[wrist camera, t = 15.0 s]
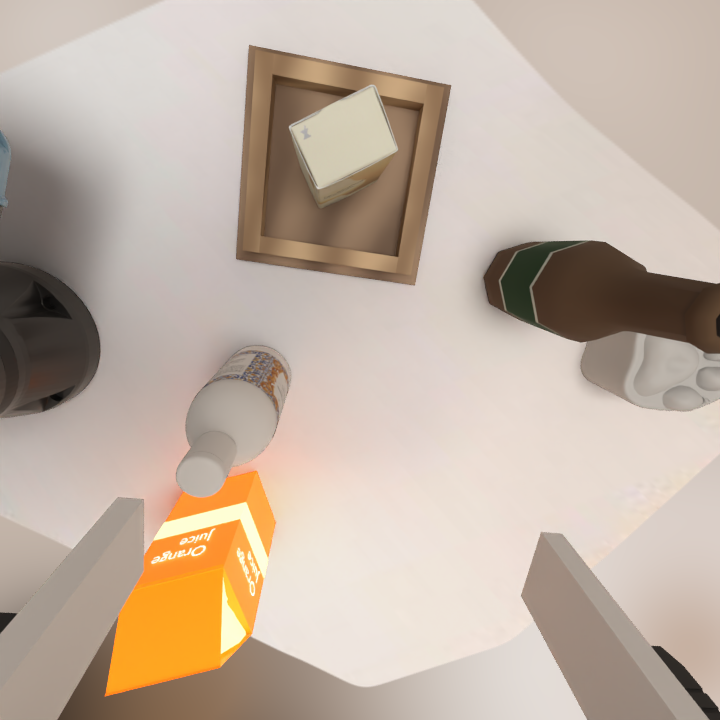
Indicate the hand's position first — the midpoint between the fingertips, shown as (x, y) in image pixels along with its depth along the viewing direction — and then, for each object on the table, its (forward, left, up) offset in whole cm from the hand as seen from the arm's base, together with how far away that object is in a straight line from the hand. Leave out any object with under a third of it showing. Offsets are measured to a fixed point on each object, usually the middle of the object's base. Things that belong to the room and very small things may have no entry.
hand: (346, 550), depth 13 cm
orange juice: (-10, -22, -31) cm, 39 cm away
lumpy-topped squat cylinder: (+34, +4, -31) cm, 46 cm away
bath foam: (-8, -5, -31) cm, 32 cm away
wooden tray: (-2, +16, -31) cm, 35 cm away
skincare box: (-2, +16, -30) cm, 34 cm away
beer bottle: (+18, +9, -31) cm, 37 cm away
